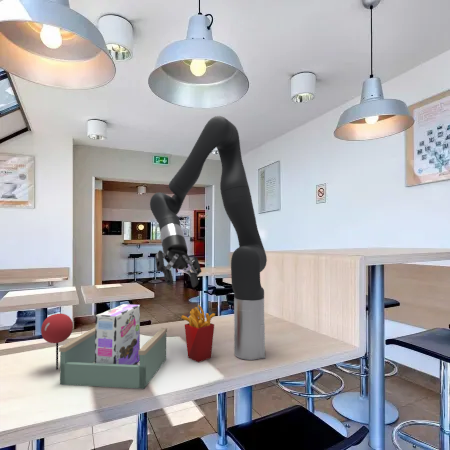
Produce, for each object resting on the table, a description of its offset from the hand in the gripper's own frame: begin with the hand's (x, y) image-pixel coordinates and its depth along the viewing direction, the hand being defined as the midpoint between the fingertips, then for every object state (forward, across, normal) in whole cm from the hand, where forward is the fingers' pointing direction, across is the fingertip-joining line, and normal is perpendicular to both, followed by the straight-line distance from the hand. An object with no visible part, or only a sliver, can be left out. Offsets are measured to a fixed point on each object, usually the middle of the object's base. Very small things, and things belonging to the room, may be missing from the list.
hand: (183, 284), depth 91 cm
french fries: (+16, +9, +14) cm, 23 cm away
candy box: (+15, -12, +21) cm, 28 cm away
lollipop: (+10, -25, +31) cm, 41 cm away
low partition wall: (+15, -12, +20) cm, 28 cm away
